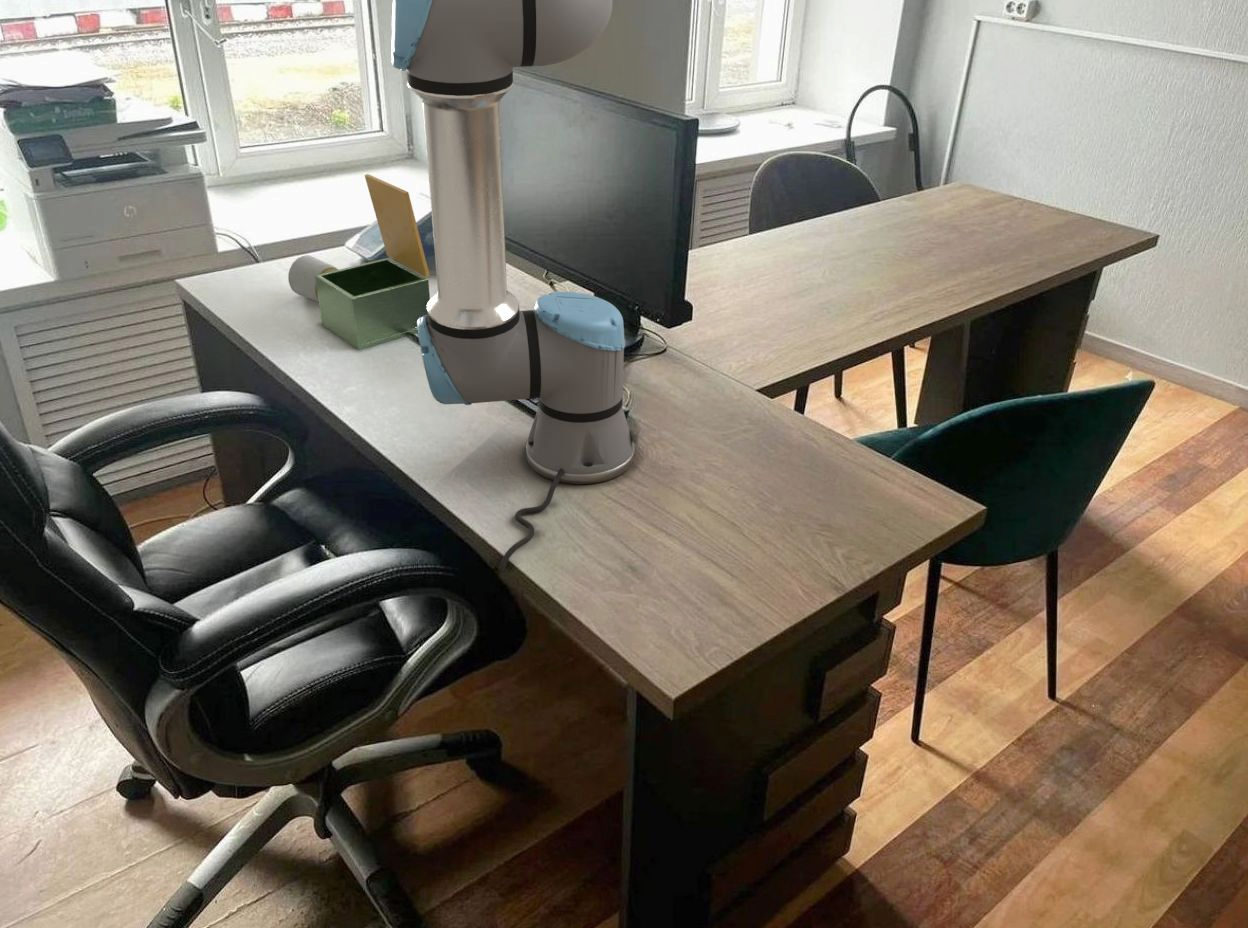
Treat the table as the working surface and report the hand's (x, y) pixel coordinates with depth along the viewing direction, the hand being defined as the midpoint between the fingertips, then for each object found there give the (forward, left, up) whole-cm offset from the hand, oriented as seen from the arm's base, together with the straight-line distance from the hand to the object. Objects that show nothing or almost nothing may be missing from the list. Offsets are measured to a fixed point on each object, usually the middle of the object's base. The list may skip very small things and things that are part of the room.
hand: (451, 185), depth 164 cm
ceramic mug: (-3, +32, -27) cm, 42 cm away
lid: (-1, +13, -9) cm, 16 cm away
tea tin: (-7, +14, -26) cm, 30 cm away
